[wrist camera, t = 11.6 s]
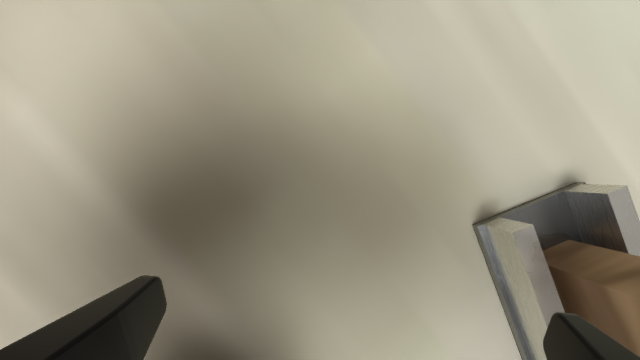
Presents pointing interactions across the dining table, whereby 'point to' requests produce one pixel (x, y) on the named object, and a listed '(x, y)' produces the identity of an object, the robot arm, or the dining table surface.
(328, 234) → the dining table surface
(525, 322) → the door track
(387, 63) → the dining table surface
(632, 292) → the door panel
